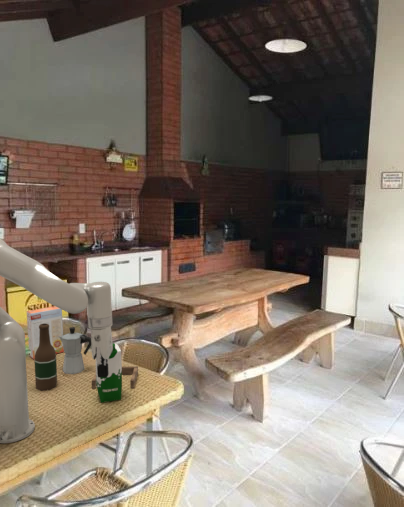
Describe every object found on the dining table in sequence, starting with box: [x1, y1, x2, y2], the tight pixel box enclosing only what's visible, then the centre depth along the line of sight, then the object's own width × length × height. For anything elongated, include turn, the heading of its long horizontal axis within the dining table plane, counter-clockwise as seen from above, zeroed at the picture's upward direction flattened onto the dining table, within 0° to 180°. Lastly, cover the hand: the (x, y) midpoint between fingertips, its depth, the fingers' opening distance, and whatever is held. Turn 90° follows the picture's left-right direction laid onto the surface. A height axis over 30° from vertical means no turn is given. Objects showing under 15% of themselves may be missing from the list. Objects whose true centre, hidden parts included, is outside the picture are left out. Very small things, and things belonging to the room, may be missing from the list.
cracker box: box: [26, 305, 64, 360], centre depth 190 cm, size 14×6×21 cm, turn 130°
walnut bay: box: [91, 365, 139, 389], centre depth 164 cm, size 13×15×3 cm
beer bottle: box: [33, 324, 58, 392], centre depth 157 cm, size 8×8×24 cm
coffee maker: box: [58, 326, 92, 375], centre depth 173 cm, size 15×9×18 cm, turn 80°
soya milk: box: [95, 342, 123, 403], centre depth 150 cm, size 9×9×20 cm
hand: (103, 376), depth 137 cm, fingers closed
